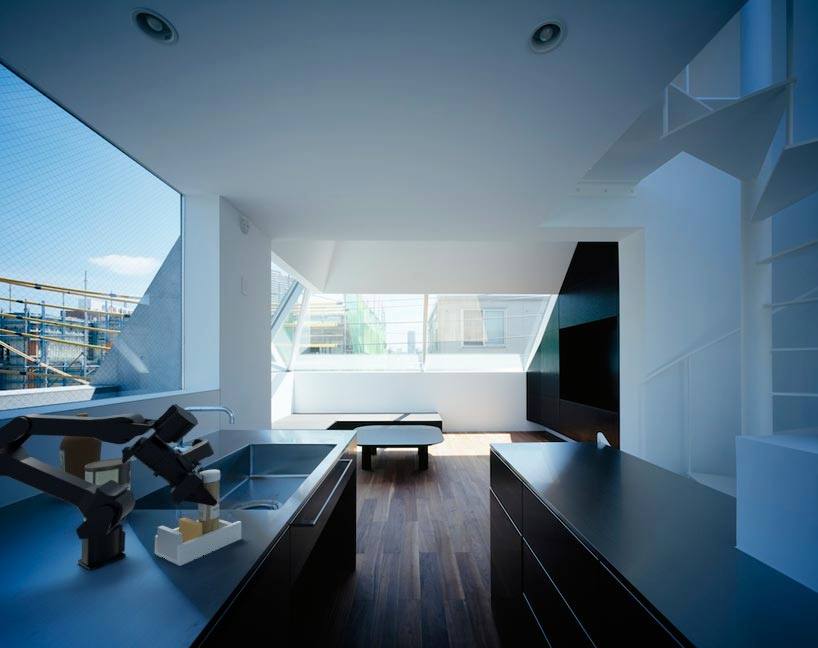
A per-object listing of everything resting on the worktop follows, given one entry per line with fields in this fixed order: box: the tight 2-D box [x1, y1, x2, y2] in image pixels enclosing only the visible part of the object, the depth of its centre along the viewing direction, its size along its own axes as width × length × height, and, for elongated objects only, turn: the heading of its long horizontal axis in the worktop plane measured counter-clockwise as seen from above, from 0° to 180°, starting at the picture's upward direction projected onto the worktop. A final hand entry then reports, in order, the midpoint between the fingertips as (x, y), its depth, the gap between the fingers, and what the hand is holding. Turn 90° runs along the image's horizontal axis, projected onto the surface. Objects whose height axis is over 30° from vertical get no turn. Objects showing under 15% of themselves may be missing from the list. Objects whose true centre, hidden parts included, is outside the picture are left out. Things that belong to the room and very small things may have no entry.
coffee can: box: [83, 457, 132, 522], centre depth 112 cm, size 10×10×14 cm
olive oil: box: [59, 412, 103, 480], centre depth 132 cm, size 11×11×25 cm
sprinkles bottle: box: [197, 469, 221, 535], centre depth 94 cm, size 5×5×13 cm
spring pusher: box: [178, 516, 202, 543], centre depth 90 cm, size 1×7×5 cm, turn 57°
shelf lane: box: [154, 518, 242, 566], centre depth 91 cm, size 14×10×6 cm
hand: (215, 501), depth 94 cm, fingers closed on sprinkles bottle, 4 cm apart
